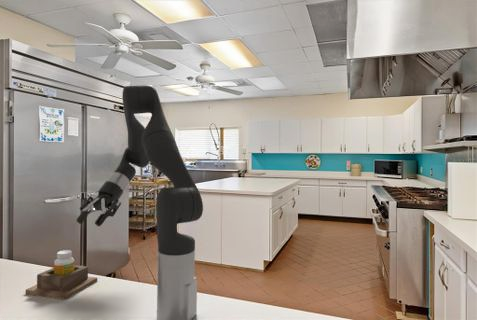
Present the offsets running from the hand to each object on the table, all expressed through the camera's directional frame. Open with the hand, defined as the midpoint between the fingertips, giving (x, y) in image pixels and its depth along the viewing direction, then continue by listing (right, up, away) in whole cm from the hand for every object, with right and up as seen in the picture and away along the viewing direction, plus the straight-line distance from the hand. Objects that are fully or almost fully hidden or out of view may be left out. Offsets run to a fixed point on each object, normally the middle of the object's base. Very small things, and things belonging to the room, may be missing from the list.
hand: (87, 223), depth 99 cm
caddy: (-3, -18, -8) cm, 20 cm away
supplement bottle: (-3, -17, -8) cm, 19 cm away
